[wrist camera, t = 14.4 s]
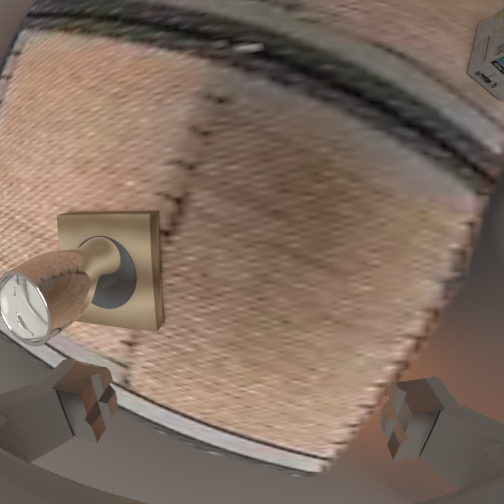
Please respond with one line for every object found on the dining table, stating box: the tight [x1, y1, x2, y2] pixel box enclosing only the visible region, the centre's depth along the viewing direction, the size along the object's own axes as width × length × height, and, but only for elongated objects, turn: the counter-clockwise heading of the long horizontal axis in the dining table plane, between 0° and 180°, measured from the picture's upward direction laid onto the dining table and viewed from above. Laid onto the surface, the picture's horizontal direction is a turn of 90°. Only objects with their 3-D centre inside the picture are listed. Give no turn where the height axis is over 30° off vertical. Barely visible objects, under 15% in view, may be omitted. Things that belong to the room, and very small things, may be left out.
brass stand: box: [57, 211, 164, 332], centre depth 37 cm, size 14×13×3 cm
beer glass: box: [0, 237, 124, 346], centre depth 28 cm, size 7×7×15 cm
